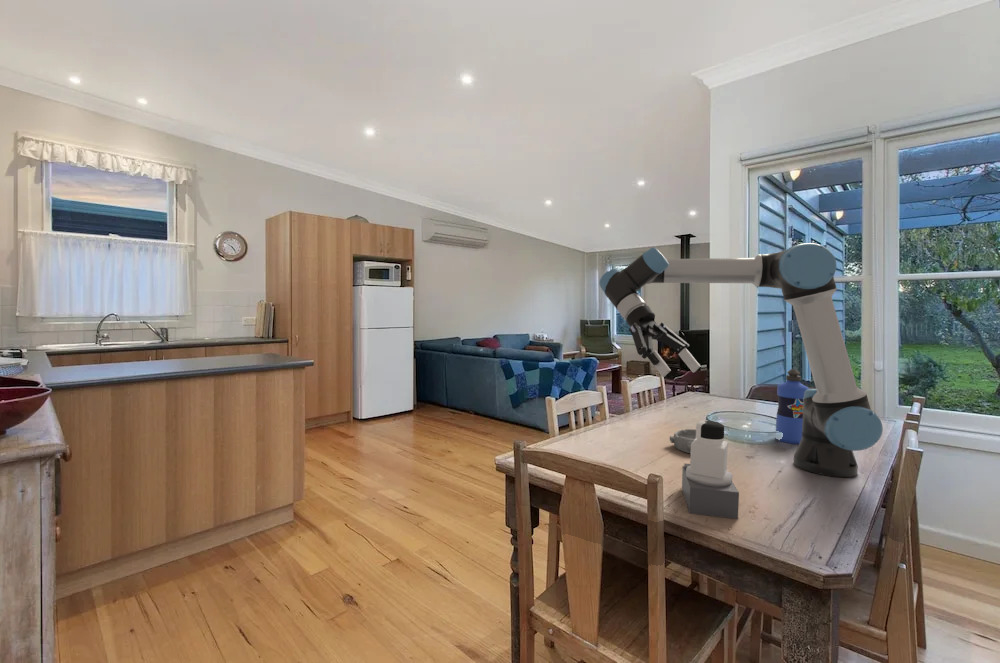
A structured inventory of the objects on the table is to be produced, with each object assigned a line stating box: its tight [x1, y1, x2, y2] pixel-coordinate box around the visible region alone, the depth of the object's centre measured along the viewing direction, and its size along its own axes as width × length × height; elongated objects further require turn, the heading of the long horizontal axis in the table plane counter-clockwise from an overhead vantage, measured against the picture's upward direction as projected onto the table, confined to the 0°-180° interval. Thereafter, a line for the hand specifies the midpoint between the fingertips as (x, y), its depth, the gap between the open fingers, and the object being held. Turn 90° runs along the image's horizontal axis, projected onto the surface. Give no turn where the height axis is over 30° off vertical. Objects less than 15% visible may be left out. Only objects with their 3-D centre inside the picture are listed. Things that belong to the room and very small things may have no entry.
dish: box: [669, 428, 696, 454], centre depth 148 cm, size 14×14×5 cm
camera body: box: [681, 463, 740, 520], centre depth 108 cm, size 10×14×8 cm
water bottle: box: [775, 368, 810, 445], centre depth 158 cm, size 9×9×25 cm
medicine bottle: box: [689, 419, 729, 479], centre depth 107 cm, size 7×7×12 cm
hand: (682, 371), depth 119 cm, fingers open, 13 cm apart
